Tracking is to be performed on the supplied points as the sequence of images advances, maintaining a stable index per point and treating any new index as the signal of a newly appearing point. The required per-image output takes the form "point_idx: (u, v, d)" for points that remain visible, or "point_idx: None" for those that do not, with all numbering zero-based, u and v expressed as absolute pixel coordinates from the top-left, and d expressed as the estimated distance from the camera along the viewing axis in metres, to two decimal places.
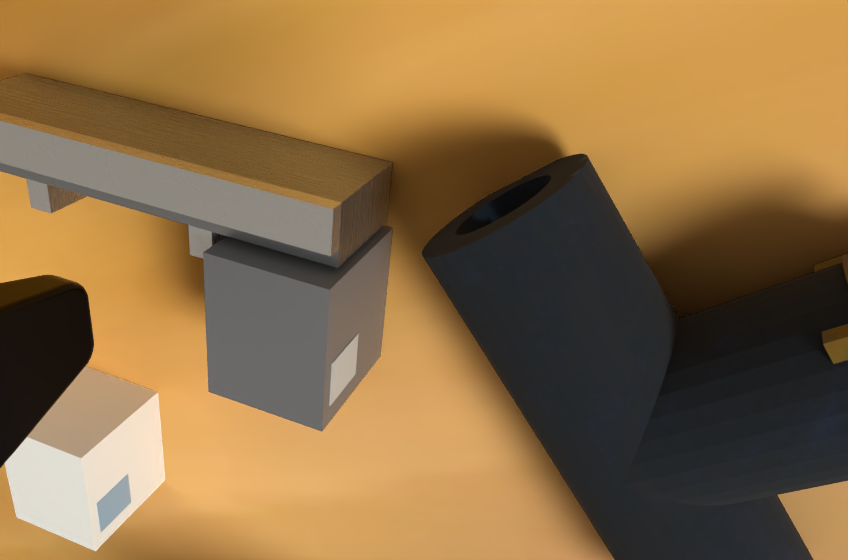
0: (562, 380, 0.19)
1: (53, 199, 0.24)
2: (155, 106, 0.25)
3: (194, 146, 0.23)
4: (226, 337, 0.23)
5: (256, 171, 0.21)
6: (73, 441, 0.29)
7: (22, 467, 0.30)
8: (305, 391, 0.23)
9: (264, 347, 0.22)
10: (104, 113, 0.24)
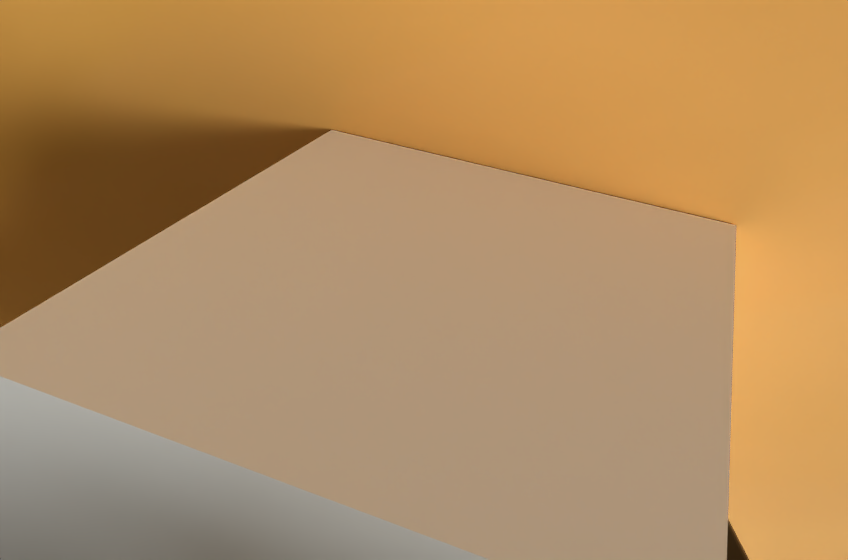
0: None
1: None
2: None
3: None
4: None
5: None
6: (545, 480, 0.04)
7: None
8: None
9: None
10: None
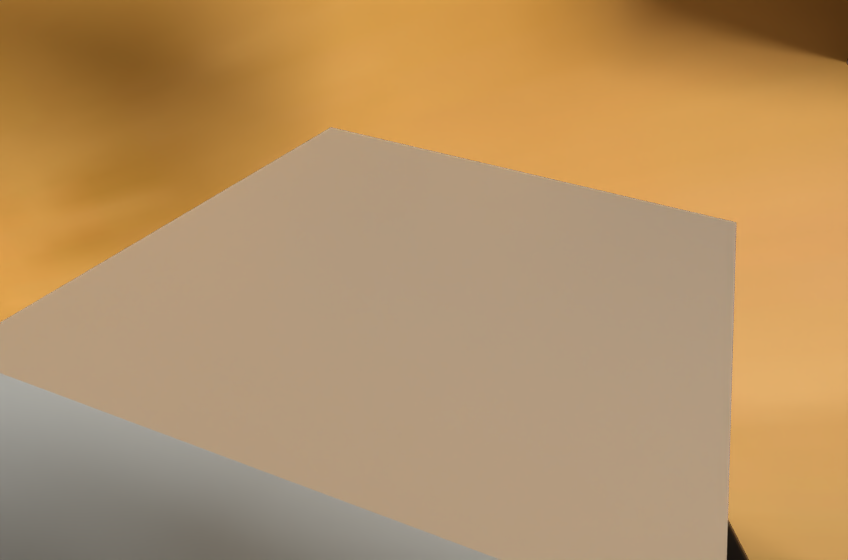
0: None
1: None
2: None
3: None
4: None
5: None
6: (544, 477, 0.04)
7: None
8: None
9: None
10: None
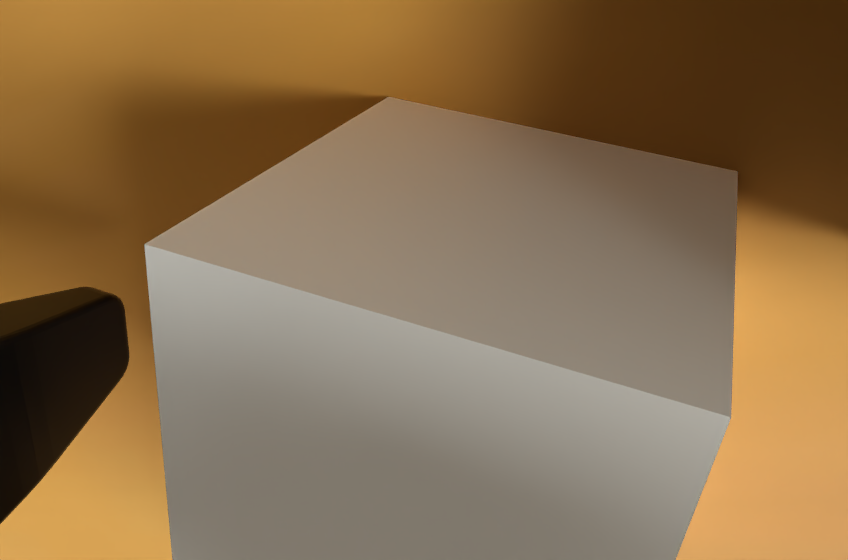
0: None
1: None
2: None
3: None
4: None
5: None
6: (596, 326, 0.05)
7: (261, 472, 0.06)
8: None
9: None
10: None
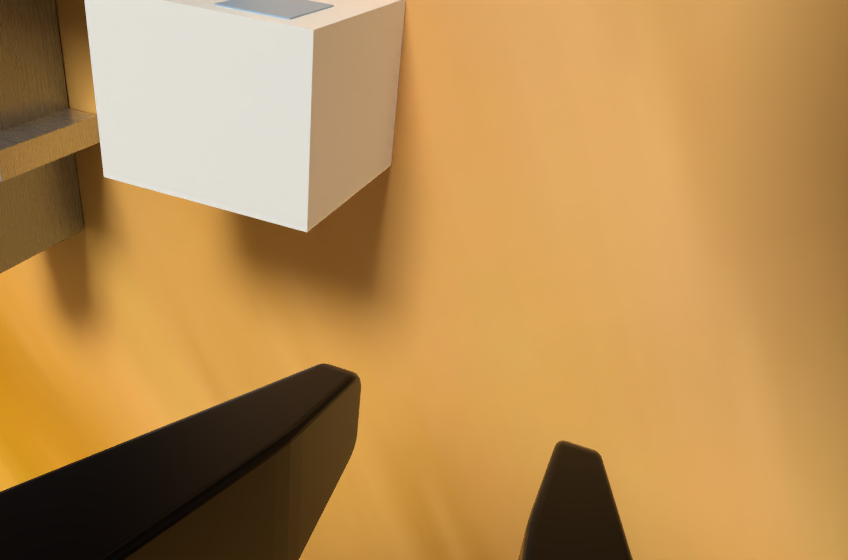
0: None
1: None
2: None
3: None
4: None
5: None
6: None
7: (169, 154, 0.16)
8: None
9: None
10: None
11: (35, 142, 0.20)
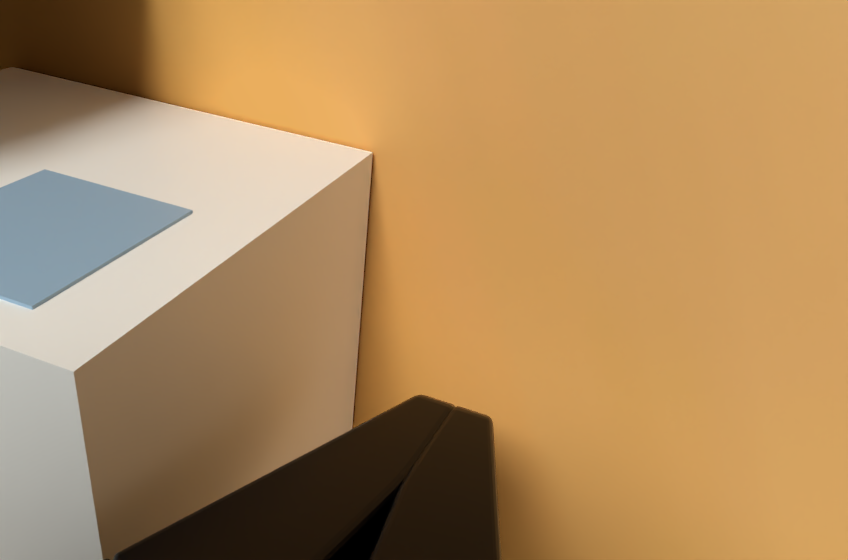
0: None
1: None
2: None
3: None
4: None
5: None
6: None
7: None
8: None
9: None
10: None
11: None
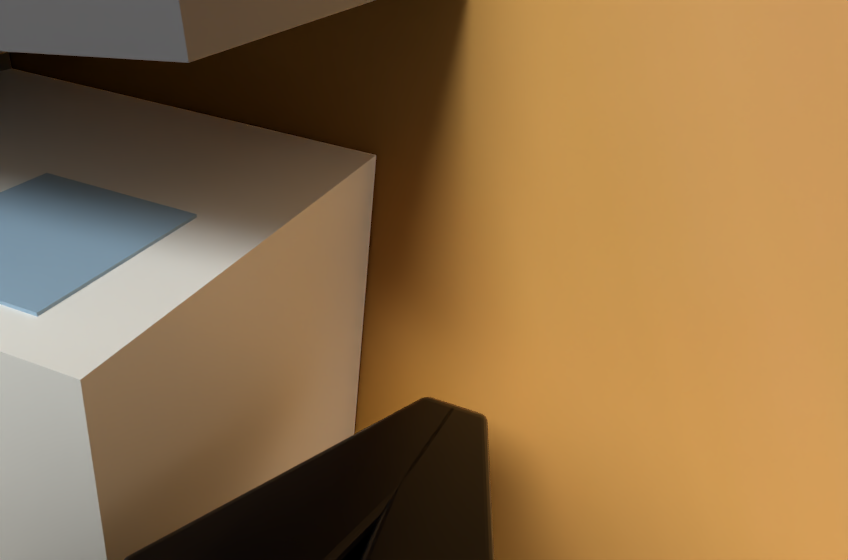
0: None
1: None
2: None
3: None
4: None
5: None
6: None
7: None
8: None
9: None
10: None
11: None
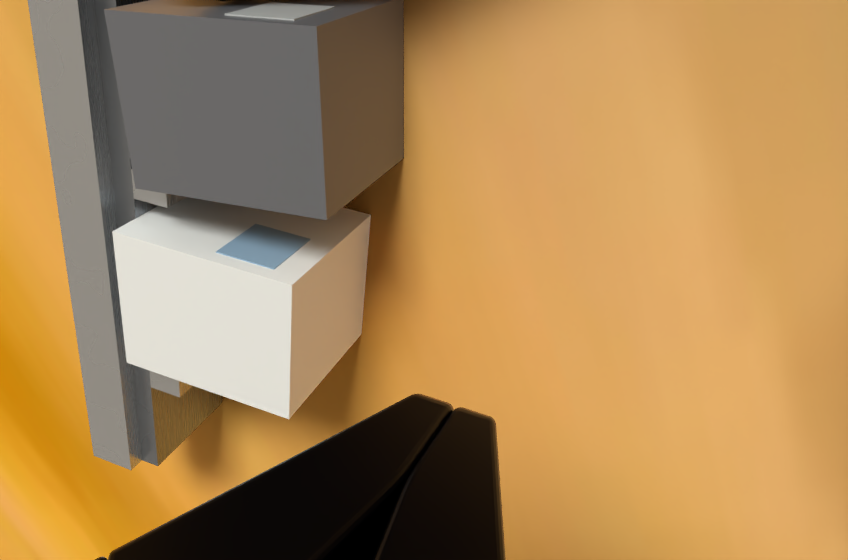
0: None
1: None
2: None
3: None
4: (230, 174, 0.17)
5: None
6: None
7: (179, 353, 0.20)
8: (259, 53, 0.15)
9: (220, 116, 0.16)
10: None
11: None
